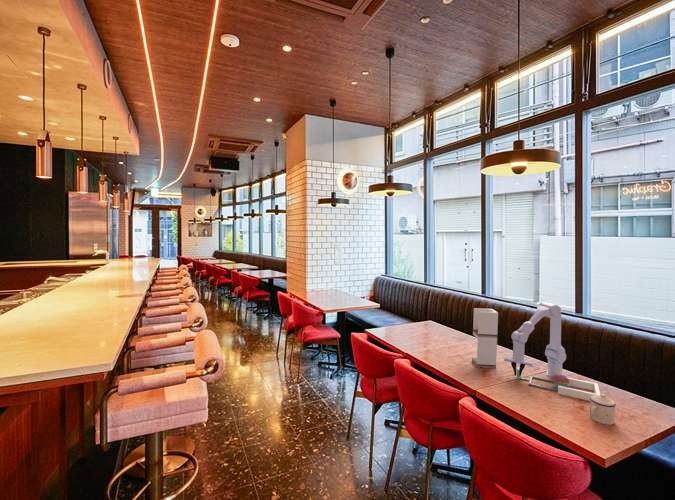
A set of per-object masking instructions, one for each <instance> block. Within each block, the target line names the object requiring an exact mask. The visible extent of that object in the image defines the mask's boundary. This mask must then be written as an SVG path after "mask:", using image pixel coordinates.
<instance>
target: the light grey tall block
mask: <svg viewBox="0 0 675 500" xmlns="http://www.w3.org/2000/svg"><path fill="white" fill-rule="evenodd" d="M472 325H473V327H472V335H473V336H474V337H475V338H476V339H477V342H476V343H477V345H476V348H477V349H476V357H472V358H471V361H472V363H473V364H474V366H475V367H476V368H480V367H482V369H483V368H484V369H485V368H486V369H497V354H498V353H497V352H498V351H497V350H498V331H499V330H498V329H499V328H498V327H499V326H498V325H499V312H498V311H496V310H494V309H493V308H481V307H480V308H479V307H478V308H477V307H475V308H473V323H472Z"/></svg>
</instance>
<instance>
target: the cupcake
mask: <svg viewBox="0 0 675 500" xmlns="http://www.w3.org/2000/svg"><path fill="white" fill-rule="evenodd" d="M557 373H558V374H557V375H553V376H552V377H551V379H550V380H552V381H553V383H552V384H553V385H554V389H558V386H563V387H566V386H567V385H569V384H570V380H569V379H568V378H569V377H568V378H567V376H565V375H559V369H558V367H557ZM569 386H570V385H569Z"/></svg>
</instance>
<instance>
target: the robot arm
mask: <svg viewBox="0 0 675 500" xmlns="http://www.w3.org/2000/svg"><path fill="white" fill-rule="evenodd" d="M544 317H549V319H550V320H549V321H550V322H549V325H550V326H549V344H547V345H546V347H545V351H544V356H546V359H547V370H546V376H547V377H552V376H553V375H557V374H558V373H557V367H558V369H559V375H563V363H565V361H566V360H567V353H566V349H565V348H564V347H563V346H562V308H561V307H560V306H559V305H557V304H555V303H554V304H553V303H549V302H545V301H541V302H539V304H538V305H537V306H536V311H535V312H534V314H532V316H531V317H530V319H529V320H528V321H525V322H523V323H522V325H521V326H520V327H519V328H518V329H517V330H515V331H513V332H512V333H511V337H510V338H511V339H512V344H513V345H512V346H513V347H512V357H509V356H508V357H506V356H505V357H504V358H503V361H504V362H508V363H509V362H510V365H511V367H512V370H513V373H514V376H515V377H517V364H519V367H520V373H519V377H520V378H522V373H523V370H524V369H525V367H526V366H527V367H533V366H534V362H533V361H529V360H526V359H525V346H526V345H525V344H526V342H527V341H528V338H529V336H530V334H532V332H533V331H534V330H535V325H536V324H537V323H538V322H539V321H540V320H541V319H542V318H544Z"/></svg>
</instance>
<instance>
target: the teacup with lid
mask: <svg viewBox="0 0 675 500" xmlns="http://www.w3.org/2000/svg"><path fill="white" fill-rule="evenodd" d="M590 400H591V401H590V404H589V408H590V409H589V417H590V419H591V420H592V421H595V422H596V423H599V424H602V425H609V426H611V425H613V424H614V423H615V415H616V414H615V413H616V406H617V404H616V402H615V401H614V400H613V399H611V398H609V397H608V396H607V395H606V394H604V393H600V395H598V396H597V395H594V396H591V398H590Z"/></svg>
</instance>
